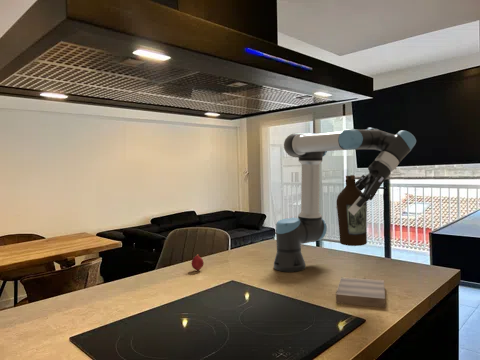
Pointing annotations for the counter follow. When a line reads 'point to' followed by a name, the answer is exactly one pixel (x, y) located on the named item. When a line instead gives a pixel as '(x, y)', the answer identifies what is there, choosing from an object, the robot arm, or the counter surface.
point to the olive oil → (351, 216)
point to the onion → (197, 262)
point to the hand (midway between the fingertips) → (344, 211)
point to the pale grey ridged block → (361, 292)
